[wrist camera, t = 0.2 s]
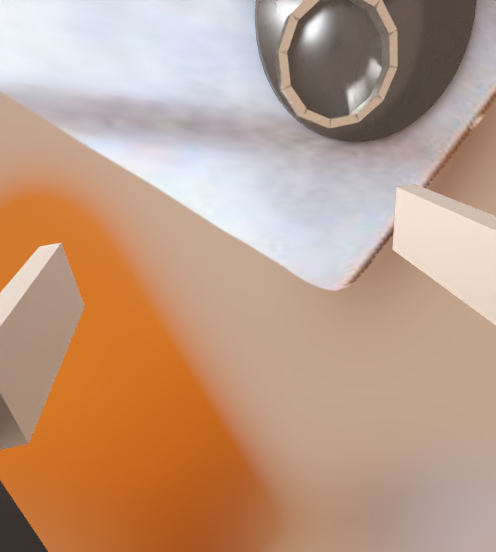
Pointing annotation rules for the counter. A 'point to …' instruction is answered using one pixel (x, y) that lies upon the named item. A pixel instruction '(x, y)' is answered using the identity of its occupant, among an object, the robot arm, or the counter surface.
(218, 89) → the counter surface
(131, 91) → the counter surface
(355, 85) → the carrier plate
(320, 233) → the counter surface
